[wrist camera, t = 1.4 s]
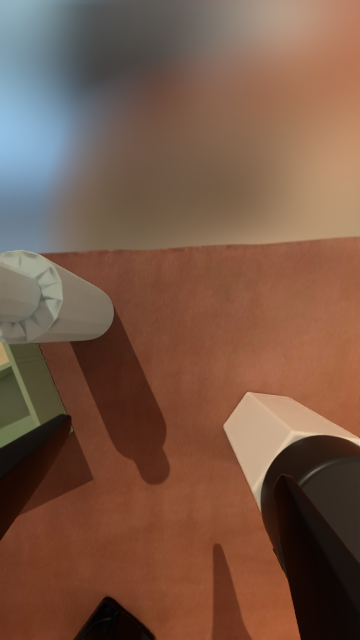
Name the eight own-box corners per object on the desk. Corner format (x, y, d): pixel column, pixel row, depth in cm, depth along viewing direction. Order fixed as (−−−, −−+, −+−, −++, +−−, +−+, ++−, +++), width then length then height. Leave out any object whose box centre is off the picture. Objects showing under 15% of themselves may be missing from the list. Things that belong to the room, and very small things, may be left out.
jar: (218, 465, 22) (263, 624, 10) (226, 387, 22) (277, 447, 10) (303, 476, 22) (453, 651, 10) (308, 397, 22) (457, 470, 10)
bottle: (90, 351, 23) (-30, 371, 10) (49, 317, 23) (-120, 295, 10) (125, 308, 23) (52, 273, 10) (83, 276, 23) (-38, 202, 11)
